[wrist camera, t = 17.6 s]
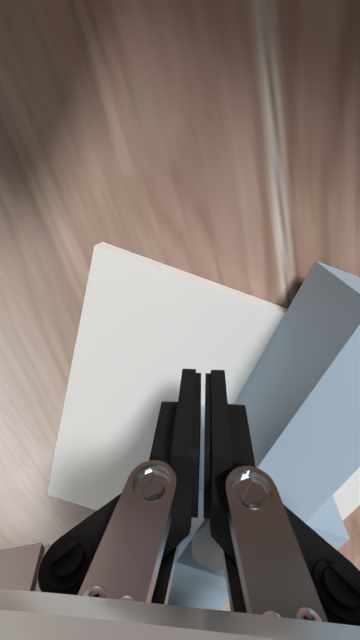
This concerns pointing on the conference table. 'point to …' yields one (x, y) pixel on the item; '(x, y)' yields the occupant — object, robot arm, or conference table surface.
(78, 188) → the conference table surface
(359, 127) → the conference table surface
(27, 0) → the conference table surface
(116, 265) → the board
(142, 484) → the robot arm
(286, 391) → the link
